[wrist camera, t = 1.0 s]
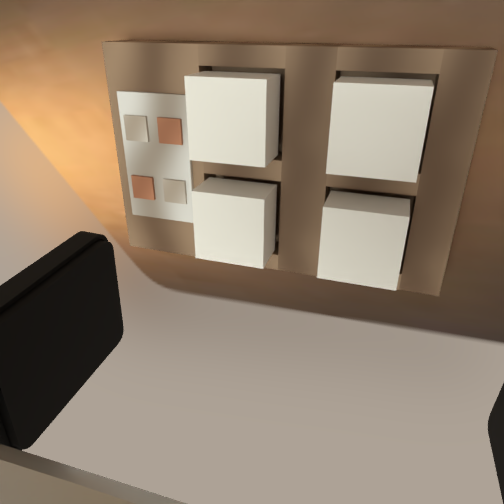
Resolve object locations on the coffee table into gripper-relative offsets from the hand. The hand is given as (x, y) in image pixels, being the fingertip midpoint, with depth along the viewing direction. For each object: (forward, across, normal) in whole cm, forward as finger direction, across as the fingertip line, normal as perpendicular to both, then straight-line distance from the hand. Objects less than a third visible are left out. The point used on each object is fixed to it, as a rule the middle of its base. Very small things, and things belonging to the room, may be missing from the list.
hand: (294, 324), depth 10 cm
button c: (+18, +7, -1) cm, 19 cm away
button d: (+18, +7, +6) cm, 20 cm away
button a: (+18, -1, -1) cm, 18 cm away
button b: (+18, -1, +6) cm, 18 cm away
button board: (+21, +5, +2) cm, 21 cm away
